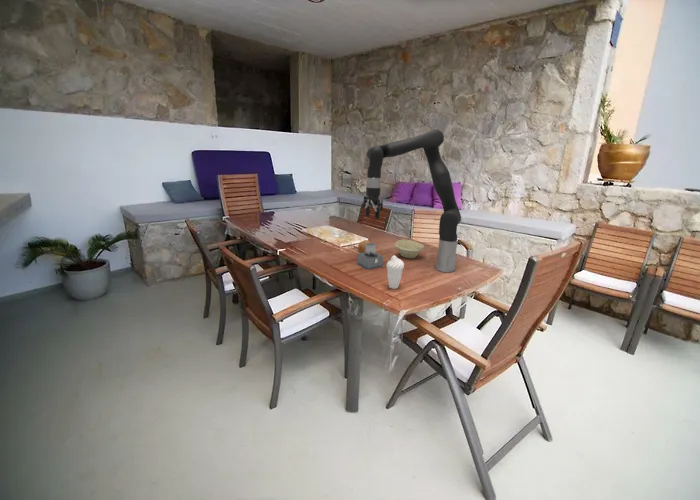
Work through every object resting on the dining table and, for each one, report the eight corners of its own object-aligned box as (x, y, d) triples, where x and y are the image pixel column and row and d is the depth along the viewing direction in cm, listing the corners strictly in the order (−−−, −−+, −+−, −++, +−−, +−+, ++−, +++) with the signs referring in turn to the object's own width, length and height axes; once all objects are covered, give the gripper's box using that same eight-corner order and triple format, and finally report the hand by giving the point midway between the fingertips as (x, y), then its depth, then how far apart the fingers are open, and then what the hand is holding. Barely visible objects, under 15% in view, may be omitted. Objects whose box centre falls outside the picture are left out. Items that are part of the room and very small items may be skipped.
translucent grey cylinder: (375, 265, 178) (376, 244, 175) (369, 266, 176) (369, 245, 172) (370, 263, 182) (371, 242, 178) (364, 264, 179) (365, 243, 176)
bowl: (405, 259, 207) (424, 246, 204) (407, 266, 190) (428, 252, 187) (392, 242, 206) (411, 228, 203) (393, 247, 188) (414, 233, 185)
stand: (384, 267, 177) (385, 253, 175) (367, 271, 171) (368, 257, 169) (372, 261, 187) (372, 248, 185) (355, 265, 181) (355, 251, 178)
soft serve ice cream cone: (400, 283, 156) (403, 252, 152) (404, 290, 148) (406, 258, 144) (383, 283, 156) (385, 252, 151) (386, 290, 148) (388, 258, 143)
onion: (368, 259, 191) (369, 243, 188) (354, 256, 196) (354, 240, 193) (376, 255, 199) (377, 240, 196) (362, 252, 204) (363, 237, 201)
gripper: (387, 187, 163) (385, 218, 167) (371, 185, 174) (370, 214, 179) (375, 188, 159) (374, 220, 164) (360, 185, 170) (358, 215, 175)
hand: (372, 217), depth 171 cm, fingers open, 8 cm apart
